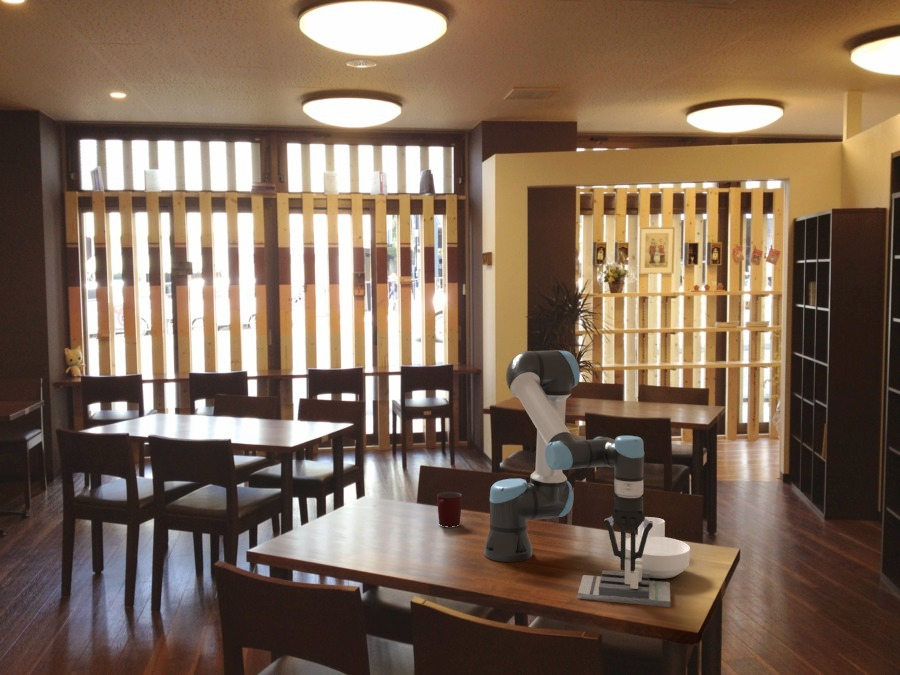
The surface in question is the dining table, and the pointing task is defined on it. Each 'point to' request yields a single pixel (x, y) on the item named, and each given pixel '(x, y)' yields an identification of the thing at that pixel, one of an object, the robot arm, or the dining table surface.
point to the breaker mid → (639, 572)
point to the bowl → (661, 556)
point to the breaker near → (634, 579)
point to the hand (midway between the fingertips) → (627, 582)
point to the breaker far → (638, 561)
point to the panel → (625, 599)
